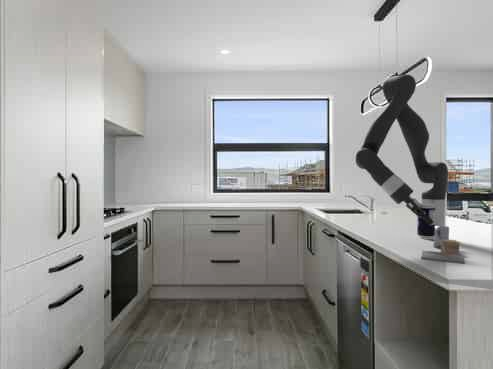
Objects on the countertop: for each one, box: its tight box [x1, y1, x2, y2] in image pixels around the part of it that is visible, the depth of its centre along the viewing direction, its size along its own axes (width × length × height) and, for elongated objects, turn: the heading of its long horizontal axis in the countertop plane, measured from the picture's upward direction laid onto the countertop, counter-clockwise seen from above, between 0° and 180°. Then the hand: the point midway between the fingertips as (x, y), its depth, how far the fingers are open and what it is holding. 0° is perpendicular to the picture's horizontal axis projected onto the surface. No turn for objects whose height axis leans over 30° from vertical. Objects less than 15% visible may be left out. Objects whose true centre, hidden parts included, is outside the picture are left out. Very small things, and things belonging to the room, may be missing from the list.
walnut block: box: [440, 239, 460, 254], centre depth 125 cm, size 4×4×4 cm
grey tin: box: [433, 225, 450, 250], centre depth 135 cm, size 5×5×8 cm
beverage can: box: [416, 203, 435, 239], centre depth 129 cm, size 6×6×12 cm
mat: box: [420, 250, 465, 264], centre depth 118 cm, size 12×12×1 cm
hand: (431, 222), depth 129 cm, fingers closed on beverage can, 5 cm apart
